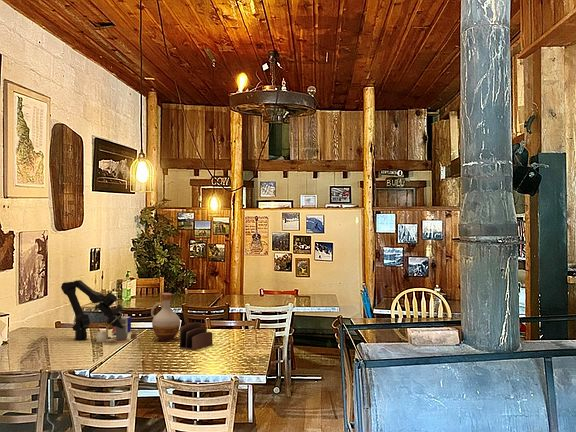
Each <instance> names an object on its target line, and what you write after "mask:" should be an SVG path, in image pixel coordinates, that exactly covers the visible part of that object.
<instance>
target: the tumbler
mask: <svg viewBox="0 0 576 432" xmlns="http://www.w3.org/2000/svg"><path fill="white" fill-rule="evenodd" d="M119 322H120V323H121V325H122V326H123V329H121V328H119V327H116V336H115V339H126V338H127V339H128V336H129V335H128V334H129V332H128V318H119Z"/></svg>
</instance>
